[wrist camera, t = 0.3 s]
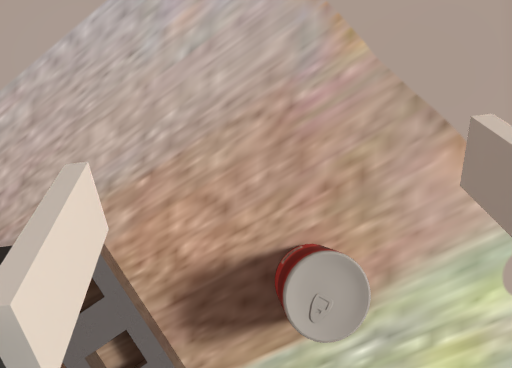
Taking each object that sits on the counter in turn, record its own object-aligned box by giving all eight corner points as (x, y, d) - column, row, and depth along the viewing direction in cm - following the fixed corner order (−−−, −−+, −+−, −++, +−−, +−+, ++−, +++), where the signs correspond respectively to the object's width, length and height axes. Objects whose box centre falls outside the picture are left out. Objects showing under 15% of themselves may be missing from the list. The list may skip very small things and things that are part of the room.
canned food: (267, 308, 49) (275, 334, 38) (281, 237, 50) (293, 242, 39) (335, 321, 49) (362, 351, 38) (348, 250, 50) (378, 259, 39)
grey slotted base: (189, 373, 48) (185, 384, 45) (119, 423, 48) (110, 436, 45) (88, 220, 49) (78, 221, 46) (18, 267, 49) (3, 270, 46)
